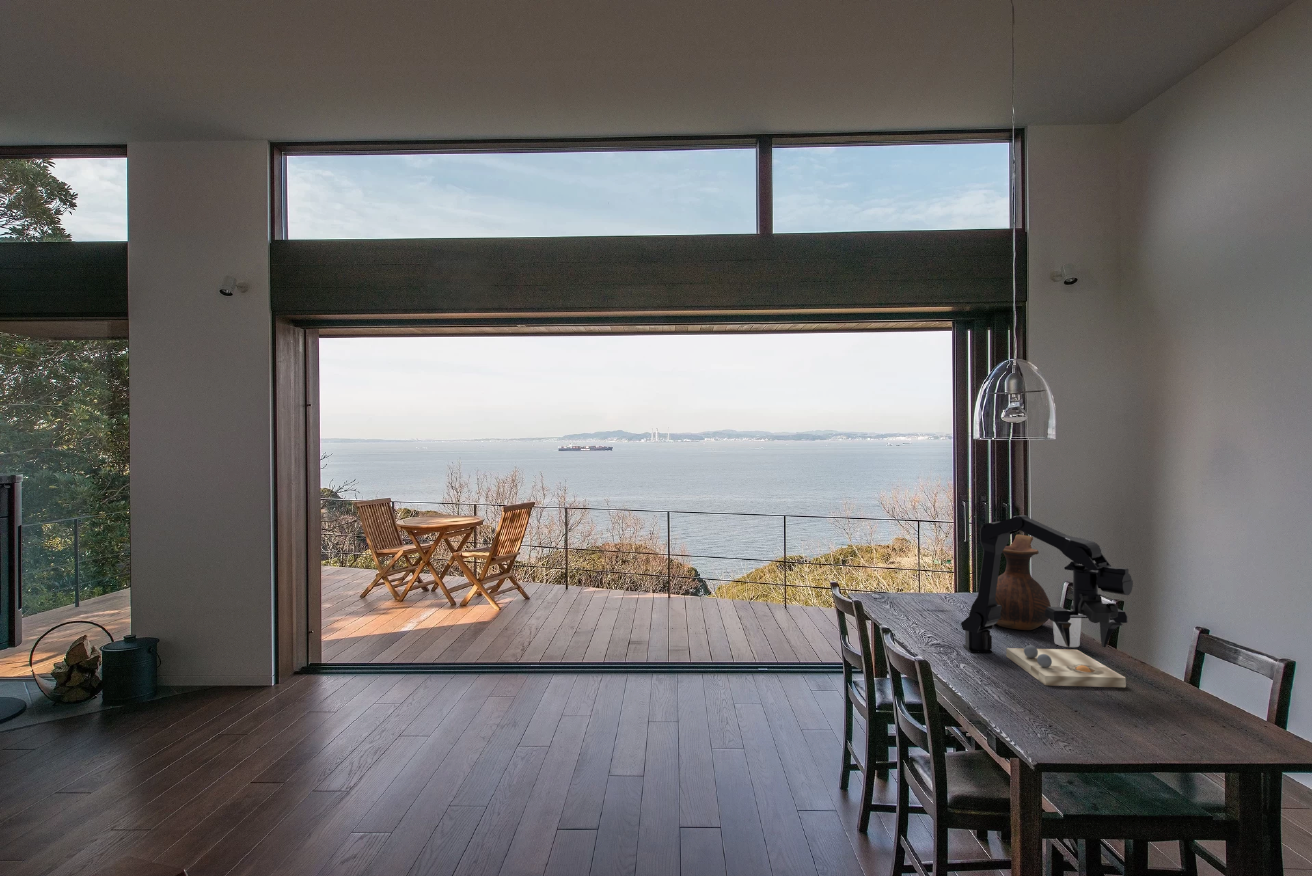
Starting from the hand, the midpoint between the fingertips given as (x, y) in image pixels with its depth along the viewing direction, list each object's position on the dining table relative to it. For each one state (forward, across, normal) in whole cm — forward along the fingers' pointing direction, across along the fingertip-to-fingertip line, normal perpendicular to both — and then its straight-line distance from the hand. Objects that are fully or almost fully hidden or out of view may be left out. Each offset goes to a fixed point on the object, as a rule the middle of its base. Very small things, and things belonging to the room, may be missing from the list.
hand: (1085, 646), depth 187 cm
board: (+9, -3, +6) cm, 11 cm away
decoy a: (+4, -10, +9) cm, 14 cm away
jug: (+9, +5, +54) cm, 55 cm away
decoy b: (+4, -10, +1) cm, 11 cm away
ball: (+7, -1, 0) cm, 7 cm away
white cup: (+9, +11, +32) cm, 35 cm away
